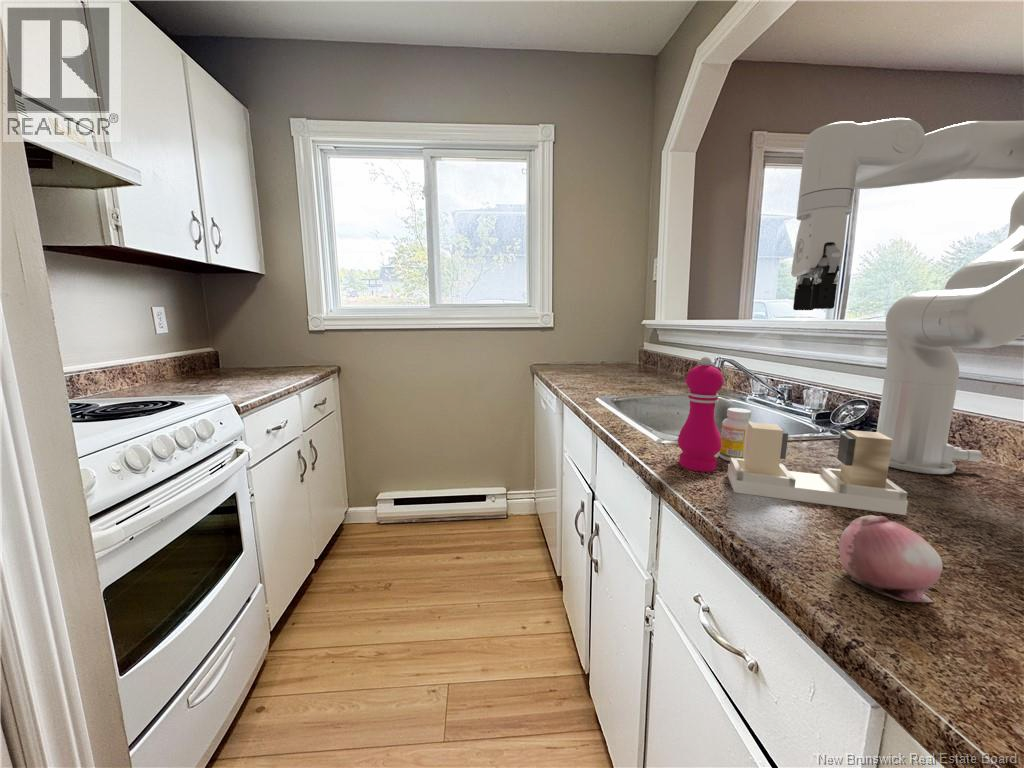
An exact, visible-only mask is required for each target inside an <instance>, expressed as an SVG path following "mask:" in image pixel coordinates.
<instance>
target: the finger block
mask: <svg viewBox="0 0 1024 768" xmlns="http://www.w3.org/2000/svg"><path fill="white" fill-rule="evenodd" d="M839 436H840V437H839V440H838V441H839V442H838V443H839V444H838V451H837V457H836V458H837V460H839V461H840V462H841V467H840V469H841V473H840V480H841V481H842V482H843V483H844V484H851V485H860V486H868V487H877V488H885V486H886V480H887V479H888V473H889V468H890V467H889V460H890V454H891V447H892V441H893V440H892V439H890V438H889V437H887V436H885V435H883V434H881V433H879V432H877V431H868V430H867V431H866V430H865V431H863V430H854V429H853V430H851V429H846V431H845V432H844V433H843V432H840V435H839Z"/></svg>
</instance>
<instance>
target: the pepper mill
mask: <svg viewBox="0 0 1024 768" xmlns="http://www.w3.org/2000/svg"><path fill="white" fill-rule="evenodd" d="M699 362H700V365H696V366H693V367H692V368H690V369H689V370H688V372H687V374H686V377H685V385H686V386H687V387H688V389H689V390H690V391H688V392H687V395H688V396H687V400H688V401H689V411H688V412H689V413H688V415H687V416H688V417H687V419H686V421H685V423H683V426H682V428H681V429H680V431H679V434H678V438H677V444H678V445H677V446H678V447H679V448H680V449H681V451H682V452H680V453H679V461H678V463H679V465H680V467H682V468H685V469H687V470H690V471H694V472H699V473H702V472H704V473H706V472H713V471H715V470H716V469H717V467H718V466H717V465H718V459H717V457H716V455H717V454H718V453H719V451H720V450H721V447H722V445H721V433H720V431H719V429H718V427H717V423H716V420H715V406H716V404H717V403H718V402H719V398H718V397H719V396H720V395H719V393H718V392H719V391H720V390H721V389H722V387H723V385H724V376H723V373H722V372H721V370H719V369H718V368H716V367H715V366H712V365H711V364H712V360H711V357H709V356H703V357H702V358H701V359H700V360H699Z"/></svg>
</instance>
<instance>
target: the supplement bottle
mask: <svg viewBox="0 0 1024 768" xmlns="http://www.w3.org/2000/svg"><path fill="white" fill-rule="evenodd" d="M726 417H727V418H724V420H723V421H722V422H721V430H720V432H721V433H720V437H721V445H722V447H721V450H720V451H719V452H718V453H719V458H721V459H723V461H727V462H730V458H740V459H744V458H745V448H746V438H747V428H748V422H751V421H750V419H751V418H752V411H751V410H750V409H746V408H741V407H729V408H727V410H726Z"/></svg>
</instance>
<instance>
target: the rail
mask: <svg viewBox="0 0 1024 768" xmlns="http://www.w3.org/2000/svg"><path fill="white" fill-rule="evenodd" d="M788 439H789V433H788V432H787V431H786V430H785V429H784V428H781V427H780V426H779V425H778V424H776V423H764V422H763V423H762V422H753V421H750V422H748V428H747V438H746V448H745V458H744V459H740V458H730V461H729V463H728V465H727V478H728V481H729V483H730V486H731V488H732V490H733V493H736V494H744V495H750V496H751V495H752V496H759V497H764V498H765V497H766V498H772V499H773V498H774V499H781V500H790V501H796V502H797V501H798V502H805V503H809V504H819V505H825V506H834V507H841V508H848V509H849V508H850V509H856V510H863V511H869V512H870V511H871V512H878V513H884V514H885V513H887V514H895V515H900V516H901V515H902V516H906V515H907V510H908V504H909V501H908V499H907V498H908V491H905V490H904V489H903V488H901V487H900V486H899V485H897V484H896V483H895V482H893V481H892V480H890V479H889V478H887V480H886V486H885V488H877V487H868V486H860V485H851V484H844V483H843V482H842V481H841V480H840V473H841V468H840V469H839V468H831V467H824V466H823V467H821V468H820V474H819V473H811V472H802V471H793V470H788V468H787V467H786V466H785V464H783V462H780V461H781V459H782V460H786V457H787V451H788V450H787V449H788V447H787V446H788Z"/></svg>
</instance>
